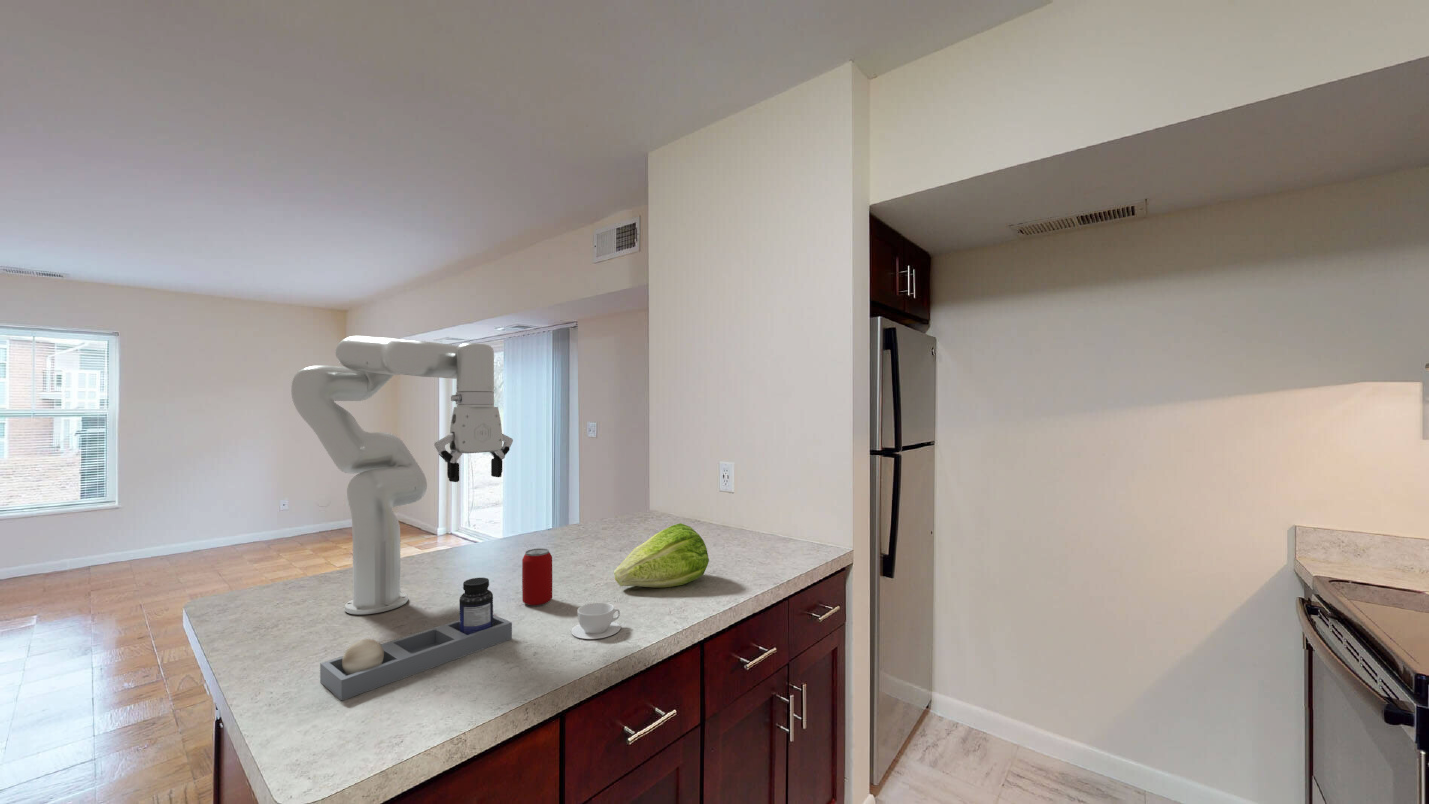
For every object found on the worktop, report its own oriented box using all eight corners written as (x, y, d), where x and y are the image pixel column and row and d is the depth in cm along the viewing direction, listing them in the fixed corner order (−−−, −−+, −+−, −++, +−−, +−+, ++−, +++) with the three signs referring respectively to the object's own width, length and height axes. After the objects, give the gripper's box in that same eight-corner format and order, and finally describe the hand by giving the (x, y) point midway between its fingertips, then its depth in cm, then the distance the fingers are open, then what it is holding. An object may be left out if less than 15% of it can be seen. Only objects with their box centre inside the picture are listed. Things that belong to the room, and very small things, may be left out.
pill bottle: (466, 631, 113) (465, 576, 113) (497, 629, 114) (496, 575, 114) (454, 644, 107) (454, 586, 107) (487, 642, 108) (487, 585, 108)
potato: (336, 677, 94) (336, 641, 94) (375, 664, 99) (375, 630, 99) (350, 688, 90) (350, 651, 90) (390, 674, 95) (390, 639, 95)
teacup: (578, 645, 108) (577, 621, 108) (566, 627, 117) (565, 605, 117) (627, 635, 113) (627, 611, 113) (612, 618, 122) (612, 597, 122)
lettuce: (637, 619, 133) (620, 606, 147) (722, 570, 144) (698, 563, 158) (613, 562, 133) (599, 555, 147) (700, 517, 143) (679, 514, 157)
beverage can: (556, 597, 135) (556, 547, 135) (545, 608, 128) (545, 555, 128) (529, 597, 135) (529, 547, 135) (517, 607, 128) (517, 554, 129)
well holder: (320, 682, 94) (320, 663, 94) (486, 626, 117) (486, 611, 117) (341, 700, 88) (341, 680, 88) (511, 638, 111) (511, 622, 111)
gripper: (444, 400, 113) (444, 485, 113) (520, 400, 127) (521, 476, 126) (427, 400, 118) (427, 482, 118) (502, 400, 131) (502, 473, 131)
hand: (475, 479), depth 122 cm, fingers open, 9 cm apart
